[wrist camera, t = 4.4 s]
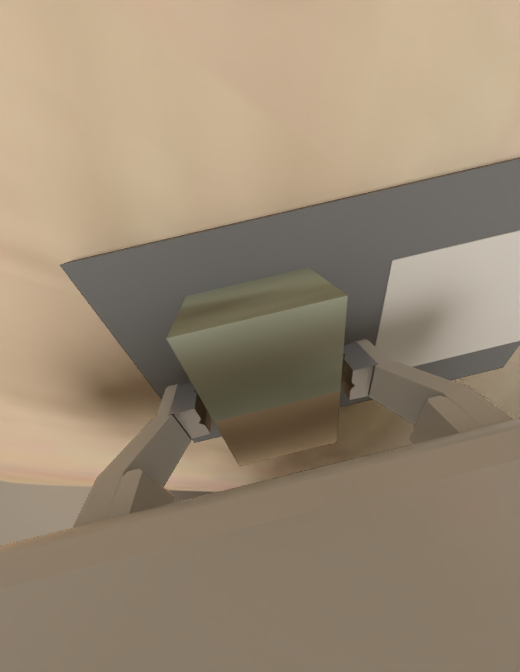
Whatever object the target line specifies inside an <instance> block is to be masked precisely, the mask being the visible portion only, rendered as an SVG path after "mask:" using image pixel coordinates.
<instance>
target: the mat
mask: <svg viewBox="0 0 520 672" xmlns="http://www.w3.org/2000/svg"><path fill="white" fill-rule="evenodd" d="M60 266H61V267H62V269H63V270H64V271H65V273H66V274H67V275H68V277H69V278H70V279H71V281H72V282H73V283H74V285H75V286H76V287H77V289H78V290H79V291H80V292H81V294H82V295H83V296H84V298H85V299H86V300H87V302H88V303H89V304H90V306H91V307H92V308H93V310H94V311H95V312H96V314H97V315H98V316H99V318H100V319H101V320H102V321H103V323H104V324H105V325H106V327H107V328H108V329H109V331H110V332H111V333H112V335H113V336H114V337H115V339H116V340H117V341H118V343H119V344H120V345H121V347H122V348H123V349H124V350H125V352H126V353H127V354H128V356H129V357H130V358H131V360H132V361H133V362H134V364H135V365H136V366H137V368H138V369H139V370H140V372H141V373H142V374H143V376H144V377H145V378H146V379H147V381H148V382H149V383H150V385H151V386H152V387H153V389H154V390H155V391H156V393H157V394H158V395H159V397H160V398H161V399H162V398H163V395H164V392H165V389H166V388H167V387H168V386H171V385H176V384H179V383H184V382H188V381H190V379H189V377H188V375H187V374H186V372H185V370H184V369H183V367H182V365H181V363H180V362H179V360H178V358H177V356H176V355H175V353H174V351H173V349H172V348H171V346H170V344H169V342H168V341H167V339H166V338H167V336H168V334H169V332H170V329H171V327H172V325H173V323H174V321H175V319H176V317H177V314H178V312H179V310H180V308H181V306H182V304H183V302H184V299H185V297H186V296H189V295H193V294H197V293H202V292H206V291H210V290H214V289H219V288H223V287H227V286H232V285H236V284H240V283H244V282H249V281H253V280H257V279H261V278H266V277H270V276H274V275H278V274H283V273H287V272H291V271H296V270H300V269H304V268H308V267H309V268H310V269H312V270H313V271H315V272H316V273H317V274H319V275H320V276H322V277H323V278H324V279H326V280H327V281H328V282H330V283H331V284H333V285H334V286H335V287H337V288H338V289H339V290H341V291H342V292H344V293H345V294H346V295H348V298H347V311H346V324H345V338H344V344H348V343H352V342H355V341H359V340H363V339H367V340H368V341H370V342H371V343H372V344H373V345H374V346H375V347H376V348H377V349H378V350H379V351H380V352H381V353H383V354H384V355H385V356H386V357H387V358H388V359H389V360H390V361H391V362H393V361H397V362H399V363H402V364H405V365H408V366H411V367H414V368H416V369H419V370H422V371H425V372H428V373H431V374H433V375H436V376H439V377H442V378H445V379H448V380H454V379H458V378H462V377H466V376H470V375H474V374H478V373H482V372H487V371H491V370H495V369H499V368H503V367H504V365H505V364H506V363H507V361H508V360H509V358H510V357H511V356H512V354H513V353H514V352H515V350H516V349H517V347H518V346H519V345H520V158H516V159H512V160H508V161H503V162H499V163H494V164H490V165H486V166H481V167H477V168H473V169H468V170H464V171H460V172H455V173H451V174H447V175H442V176H438V177H434V178H429V179H425V180H421V181H416V182H412V183H408V184H403V185H399V186H395V187H390V188H386V189H382V190H377V191H373V192H369V193H364V194H360V195H356V196H351V197H347V198H343V199H338V200H334V201H330V202H325V203H321V204H317V205H312V206H308V207H304V208H299V209H295V210H291V211H286V212H282V213H278V214H273V215H269V216H265V217H260V218H256V219H252V220H247V221H243V222H239V223H234V224H230V225H226V226H221V227H217V228H213V229H208V230H204V231H200V232H195V233H191V234H187V235H182V236H178V237H173V238H169V239H165V240H160V241H156V242H152V243H147V244H143V245H139V246H134V247H130V248H126V249H121V250H117V251H113V252H108V253H104V254H100V255H95V256H91V257H87V258H82V259H78V260H74V261H70V262H67V263H64V264H61V265H60ZM368 400H372V399H371V398H370V397H369V396H366V397H361V398H357V399H352V400H349V398H348V397H347V395H346V394H345V392H344V391H343V389H342V383H341V390H340V403H339V407H343V406H347V405H351V404H355V403H359V402H364V401H368ZM209 416H210V414H209ZM210 418H211V431H210V434H208V435H204V436H200V437H197V438H193V439H192V440H193V441H194V443H196V442H200V441H204V440H208V439H212V438H216V437H220V436H222V435H221V433H220V431H219V430H218V428H217V426H216V424H215V423H214V421H213V419H212V417H211V416H210Z"/></svg>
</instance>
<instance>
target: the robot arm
mask: <svg viewBox="0 0 520 672" xmlns="http://www.w3.org/2000/svg"><path fill="white" fill-rule="evenodd" d="M341 383H342V389H343V391H344V392H345V394H346V395H347V397H348V398H349V400H352V399H357V398H361V397H366V396H369V397H370V398H371V399H373V400H375V401H376V402H378V403H379V404H381V405H382V406H384V407H386V408H387V409H389V410H390V411H392V412H394V413H395V414H397V415H398V416H400V417H402V418H403V419H405V420H406V421H408V422H410V423H411V424H413V425H414V426H415V427H414V429H413V431H412V433H411V436H410V440H411V441H412V443H413V444H411V445H407V446H403V447H399V448H395V449H391V450H387V451H383V452H379V453H375V454H370V455H366V456H362V457H358V458H354V459H350V460H346V461H342V462H338V463H334V464H330V465H326V466H322V467H318V468H313V469H309V470H305V471H301V472H297V473H293V474H289V475H285V476H281V477H277V478H273V479H269V480H265V481H261V482H257V483H252V484H248V485H244V486H240V487H236V488H232V489H228V490H224V491H220V492H216V493H212V494H208V495H204V496H200V497H196V498H192V499H187V500H183V501H179V502H175V503H174V496H173V494H172V493H171V492H169V491H168V490H167V489H165V488H164V486H165V484H166V482H167V481H168V479H169V477H170V476H171V474H172V472H173V470H174V469H175V467H176V465H177V464H178V462H179V460H180V459H181V457H182V455H183V453H184V452H185V450H186V448H187V447H188V445H189V443H190V442H191V439H193V438H197V437H200V436H204V435H208V434H210V431H211V418H210V416H209V412H208V410H207V409H206V407H205V405H204V403H203V402H202V400H201V398H200V396H199V395H198V393H197V391H196V389H195V388H194V386H193V384H192V382H191V381H188V382H184V383H179V384H176V385H171V386H168V387H167V388H166V389H165V392H164V395H163V398H162V401H161V404H160V407H159V409H158V412H157V415H156V418H155V419H152V420H151V421H150V422H149V423H148V424H147V425H146V426H145V427H144V428H143V429H142V430H141V432H140V433H139V434H138V435H137V436H136V437H135V438H134V439H133V440H132V441H131V442H130V443H129V444H128V445H127V446H126V447H125V448H124V450H123V451H122V452H121V453H120V454H119V455H118V456H117V457H116V458H115V459H114V460H113V461H112V462H111V463H110V464H109V465H108V466H107V468H106V469H105V470H104V471H103V472H102V473H101V474H100V475H99V476H98V477H97V479H96V481H95V483H94V485H93V487H92V489H91V491H90V493H89V495H88V497H87V499H86V501H85V503H84V506H83V507H82V509H81V511H80V514H79V516H78V518H77V520H76V522H75V524H74V526H73V528H70V529H66V530H62V531H58V532H54V533H49V534H46V535H42V536H37V537H33V538H29V539H26V540H21V541H17V542H13V543H9V544H5V545H1V546H0V672H520V418H517V419H512V418H511V417H509V416H508V415H507V414H505V413H504V412H502V411H501V410H500V409H498V408H497V407H496V406H494V405H493V404H492V403H490V402H489V401H488V400H486V399H485V398H484V397H482V396H481V395H480V394H478V393H477V392H475V391H474V390H473V389H471V388H470V387H468V386H465V385H462V384H459V383H456V382H453V381H451V380H448V379H445V378H442V377H439V376H436V375H433V374H431V373H428V372H425V371H422V370H419V369H416V368H414V367H411V366H408V365H405V364H402V363H399V362H397V361H393V362H391V361H390V360H389V359H388V358H387V357H386V356H385V355H384V354H383V353H381V352H380V351H379V350H378V349H377V348H376V347H375V346H374V345H373V344H372V343H371V342H370V341H368V340H367V339H363V340H359V341H355V342H352V343H348V344H344V351H343V364H342V377H341Z"/></svg>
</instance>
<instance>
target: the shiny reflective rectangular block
mask: <svg viewBox="0 0 520 672" xmlns="http://www.w3.org/2000/svg"><path fill="white" fill-rule="evenodd" d="M347 298H348V295H346V294H345V293H344V292H342V291H341V290H339V289H338V288H337V287H335V286H334V285H333V284H331V283H330V282H328V281H327V280H326V279H324V278H323V277H322V276H320V275H319V274H317V273H316V272H315V271H313V270H312V269H310V268H309V267H308V268H304V269H300V270H296V271H291V272H287V273H283V274H278V275H274V276H270V277H266V278H261V279H257V280H253V281H249V282H244V283H240V284H236V285H232V286H227V287H223V288H219V289H214V290H210V291H206V292H202V293H197V294H193V295H189V296H186V297H185V299H184V302H183V304H182V306H181V308H180V310H179V312H178V314H177V317H176V319H175V321H174V323H173V325H172V327H171V329H170V332H169V334H168V336H167V338H166V339H167V341H168V342H169V344H170V346H171V348H172V349H173V351H174V353H175V355H176V356H177V358H178V360H179V362H180V363H181V365H182V367H183V369H184V370H185V372H186V374H187V375H188V377H189V379H190V381H191V382H192V384H193V386H194V388H195V389H196V391H197V393H198V395H199V396H200V398H201V400H202V402H203V403H204V405H205V407H206V409H207V410H208V412H209V414H210V416H211V417H212V419H213V421H214V423H215V424H216V426H217V428H218V430H219V431H220V433H221V435H222V437H223V438H224V440H225V442H226V444H227V445H228V447H229V449H230V451H231V452H232V454H233V456H234V458H235V459H236V461H237V463H238V465H239V466H243V465H247V464H251V463H255V462H259V461H263V460H267V459H272V458H276V457H280V456H284V455H288V454H292V453H296V452H300V451H304V450H308V449H312V448H316V447H320V446H324V445H328V444H332V443H337V430H338V416H339V403H340V390H341V377H342V364H343V351H344V338H345V324H346V311H347Z"/></svg>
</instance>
